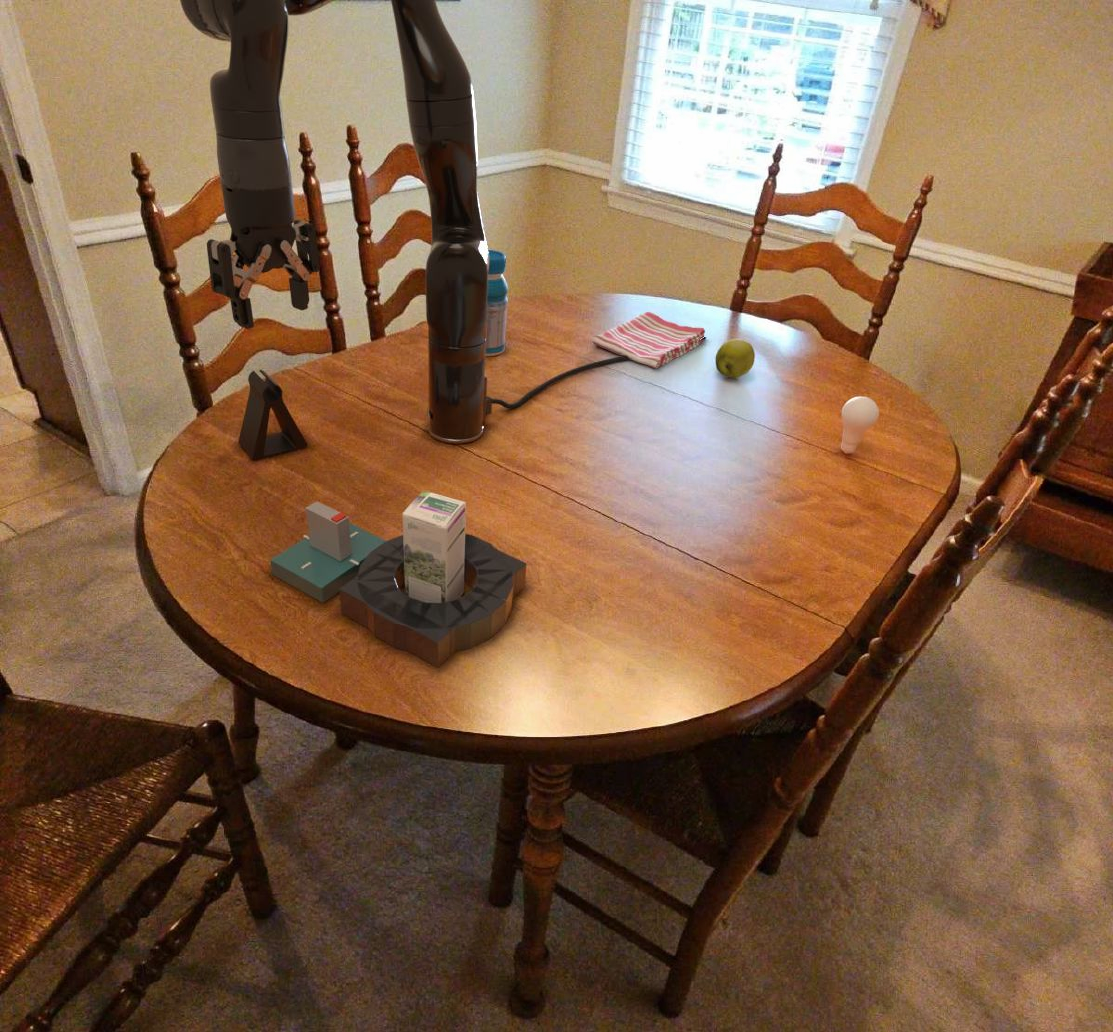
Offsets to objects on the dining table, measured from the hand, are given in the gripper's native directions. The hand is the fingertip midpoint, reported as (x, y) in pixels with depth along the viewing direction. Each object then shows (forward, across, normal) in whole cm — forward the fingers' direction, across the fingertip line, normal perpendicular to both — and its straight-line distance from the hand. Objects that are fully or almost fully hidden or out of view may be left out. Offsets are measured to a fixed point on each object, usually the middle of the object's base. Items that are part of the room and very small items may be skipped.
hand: (273, 317), depth 95 cm
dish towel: (+28, -92, +12) cm, 97 cm away
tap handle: (+26, +7, +14) cm, 30 cm away
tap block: (+28, +7, +14) cm, 32 cm away
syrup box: (+28, +4, +29) cm, 41 cm away
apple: (+28, -89, +33) cm, 99 cm away
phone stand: (+28, -9, -15) cm, 33 cm away
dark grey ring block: (+28, +4, +29) cm, 41 cm away
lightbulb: (+28, -72, +62) cm, 99 cm away
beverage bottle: (+28, -64, -13) cm, 71 cm away
